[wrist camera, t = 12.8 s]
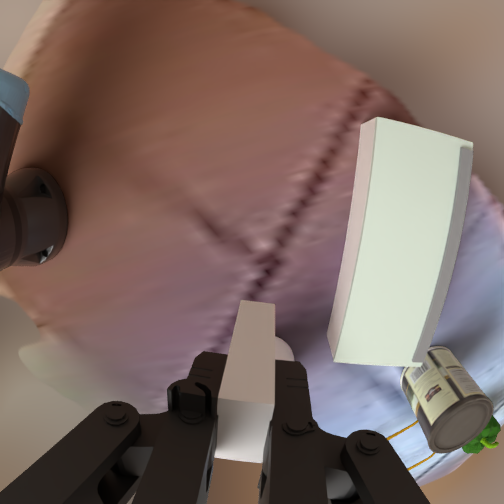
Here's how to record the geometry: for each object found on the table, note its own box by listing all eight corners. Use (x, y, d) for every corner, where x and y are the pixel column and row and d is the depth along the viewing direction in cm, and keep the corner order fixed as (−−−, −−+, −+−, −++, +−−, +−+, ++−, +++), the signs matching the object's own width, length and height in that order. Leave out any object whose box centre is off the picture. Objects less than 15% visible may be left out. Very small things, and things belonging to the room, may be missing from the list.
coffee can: (437, 397, 45) (468, 451, 32) (389, 394, 45) (415, 455, 32) (464, 348, 42) (505, 397, 29) (416, 341, 43) (454, 398, 29)
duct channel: (326, 334, 43) (332, 358, 37) (360, 124, 36) (375, 117, 30) (403, 339, 43) (417, 361, 37) (443, 144, 35) (467, 143, 29)
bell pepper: (444, 429, 47) (461, 463, 38) (469, 398, 45) (491, 431, 36) (467, 433, 48) (485, 464, 38) (491, 404, 46) (513, 434, 36)
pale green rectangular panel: (333, 358, 37) (334, 364, 36) (375, 117, 30) (378, 116, 28) (418, 363, 36) (422, 369, 35) (469, 143, 29) (475, 142, 27)
